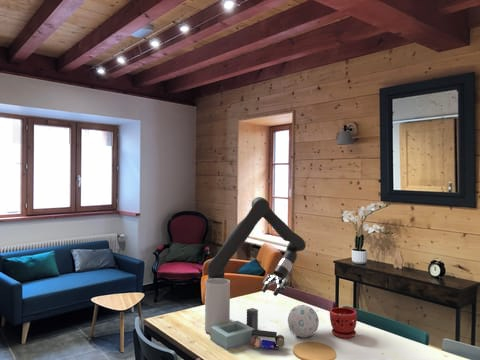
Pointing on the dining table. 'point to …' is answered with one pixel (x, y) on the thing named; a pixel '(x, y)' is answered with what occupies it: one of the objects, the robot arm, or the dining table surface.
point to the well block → (231, 334)
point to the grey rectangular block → (252, 318)
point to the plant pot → (343, 322)
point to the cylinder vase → (217, 302)
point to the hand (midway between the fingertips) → (268, 293)
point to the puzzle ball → (303, 321)
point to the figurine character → (266, 343)
